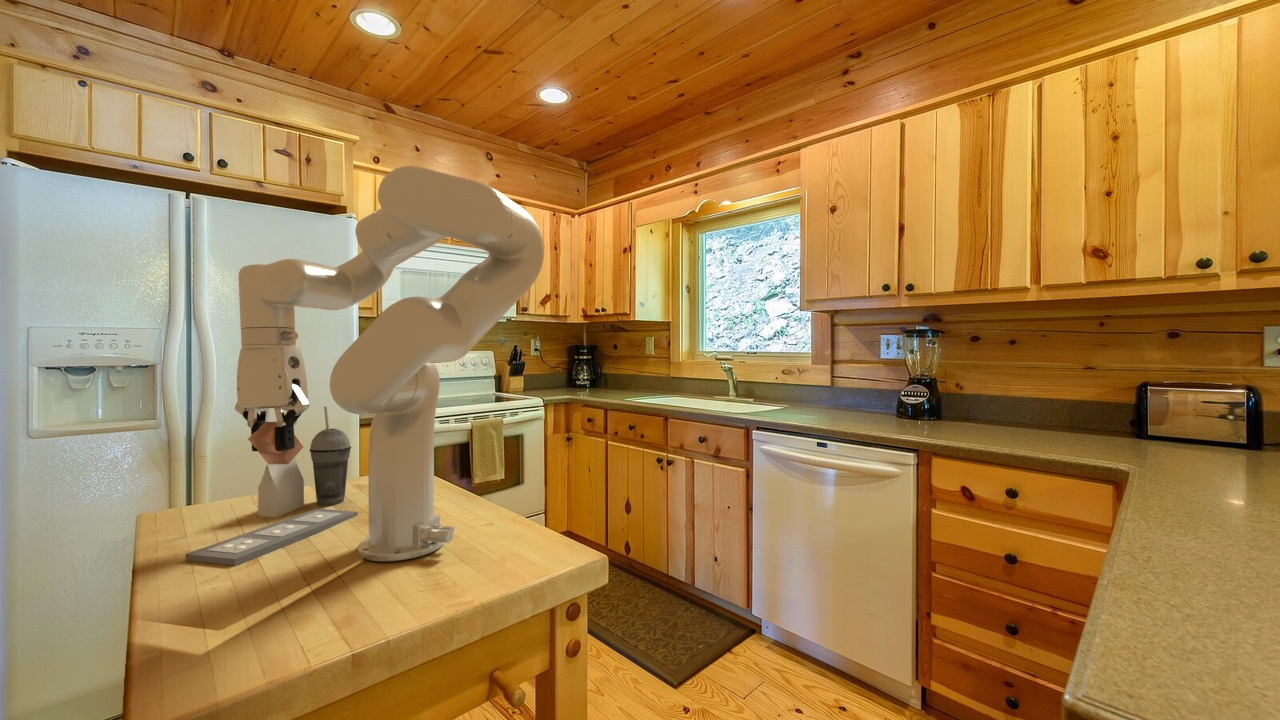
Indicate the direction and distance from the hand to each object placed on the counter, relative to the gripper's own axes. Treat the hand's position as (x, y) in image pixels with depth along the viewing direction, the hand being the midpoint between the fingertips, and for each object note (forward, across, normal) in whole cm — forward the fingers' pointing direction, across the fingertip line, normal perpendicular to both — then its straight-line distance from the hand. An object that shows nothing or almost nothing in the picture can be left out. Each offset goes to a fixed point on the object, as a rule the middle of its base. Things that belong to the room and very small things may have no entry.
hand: (273, 448), depth 89 cm
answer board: (+15, -1, 0) cm, 15 cm away
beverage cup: (+15, +5, -17) cm, 23 cm away
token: (+2, 0, -2) cm, 3 cm away
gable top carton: (+14, +10, -11) cm, 21 cm away
